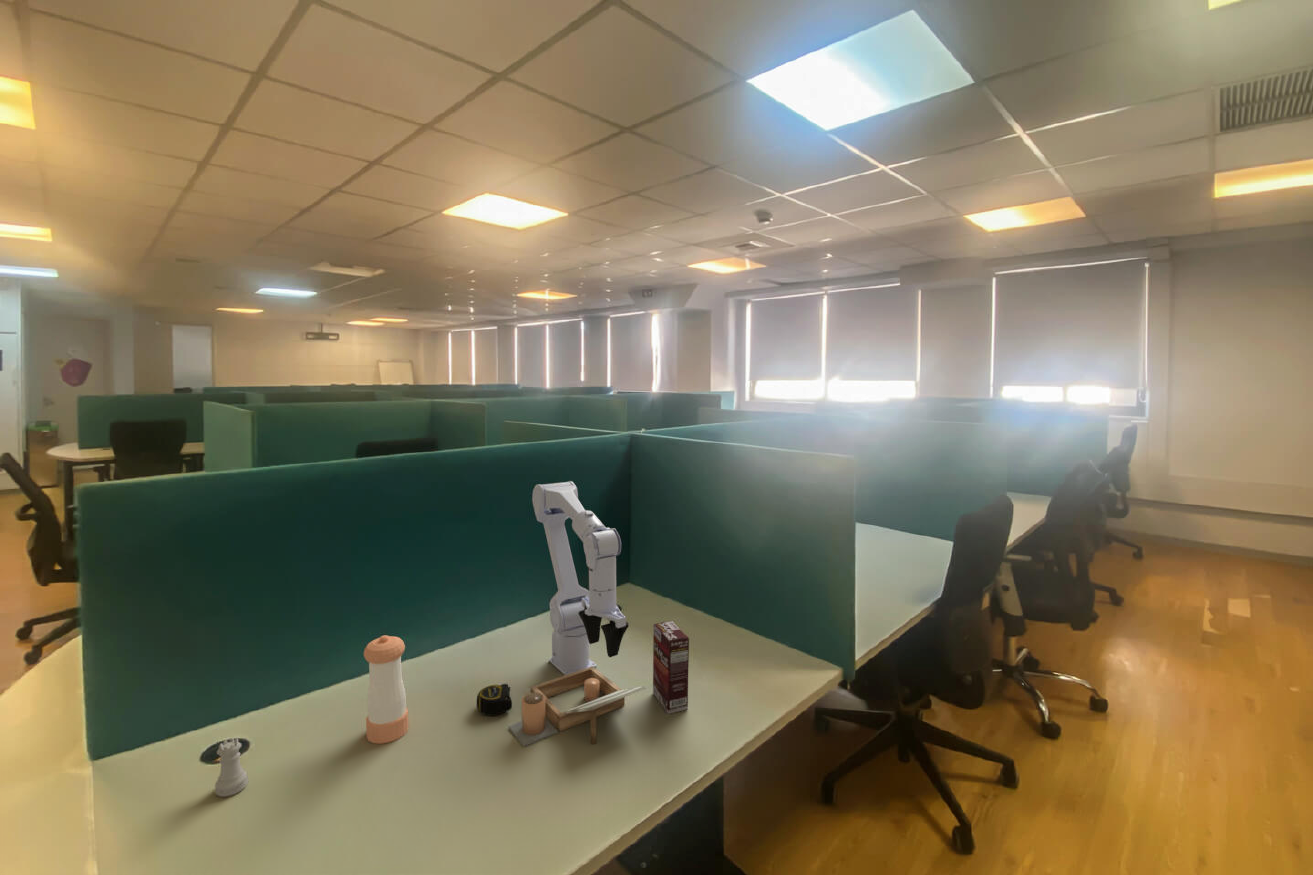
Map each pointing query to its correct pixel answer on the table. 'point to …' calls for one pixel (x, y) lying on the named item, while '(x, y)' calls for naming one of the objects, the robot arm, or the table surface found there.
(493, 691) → the tape measure
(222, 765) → the rook chess piece
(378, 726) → the pepper shaker
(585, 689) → the tan rounded cylinder
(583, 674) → the frame
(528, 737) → the mat
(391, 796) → the table surface
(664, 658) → the supplement box
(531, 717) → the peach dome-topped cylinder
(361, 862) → the table surface
